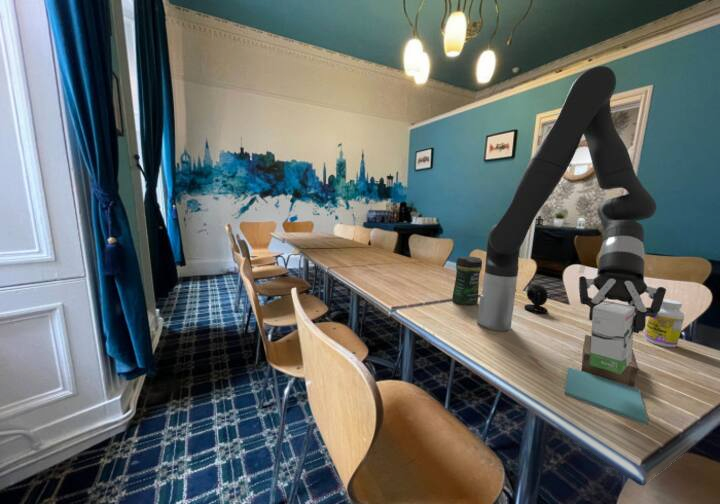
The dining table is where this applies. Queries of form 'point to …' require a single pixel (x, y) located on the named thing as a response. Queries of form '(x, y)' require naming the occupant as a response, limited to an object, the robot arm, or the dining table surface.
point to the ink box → (612, 336)
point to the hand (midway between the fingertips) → (615, 326)
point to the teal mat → (606, 394)
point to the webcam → (537, 299)
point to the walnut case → (625, 377)
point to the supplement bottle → (665, 324)
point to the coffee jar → (467, 280)
